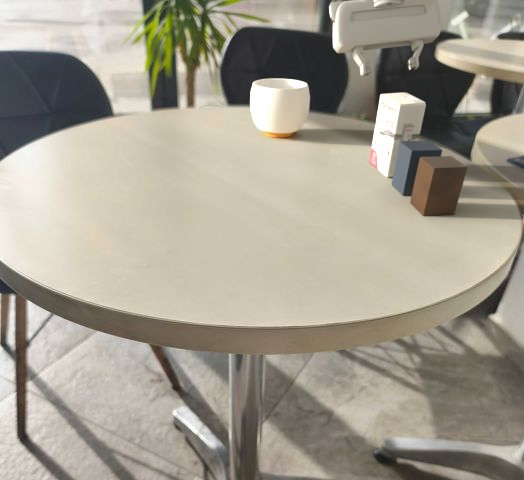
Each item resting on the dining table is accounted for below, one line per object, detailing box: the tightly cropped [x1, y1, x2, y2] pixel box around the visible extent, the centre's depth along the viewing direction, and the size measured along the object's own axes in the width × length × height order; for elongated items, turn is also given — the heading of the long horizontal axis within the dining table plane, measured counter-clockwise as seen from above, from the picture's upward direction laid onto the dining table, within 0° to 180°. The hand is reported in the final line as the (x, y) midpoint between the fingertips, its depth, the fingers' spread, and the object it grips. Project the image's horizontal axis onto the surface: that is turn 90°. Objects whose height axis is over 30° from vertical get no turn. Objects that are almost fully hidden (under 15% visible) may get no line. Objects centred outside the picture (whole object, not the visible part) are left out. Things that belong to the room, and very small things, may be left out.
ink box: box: [368, 92, 427, 178], centre depth 86 cm, size 9×5×12 cm, turn 12°
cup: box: [249, 77, 311, 139], centre depth 102 cm, size 12×12×10 cm
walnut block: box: [409, 155, 468, 217], centre depth 73 cm, size 5×5×7 cm
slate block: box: [391, 140, 443, 197], centre depth 79 cm, size 5×5×7 cm
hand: (389, 71), depth 94 cm, fingers open, 8 cm apart
